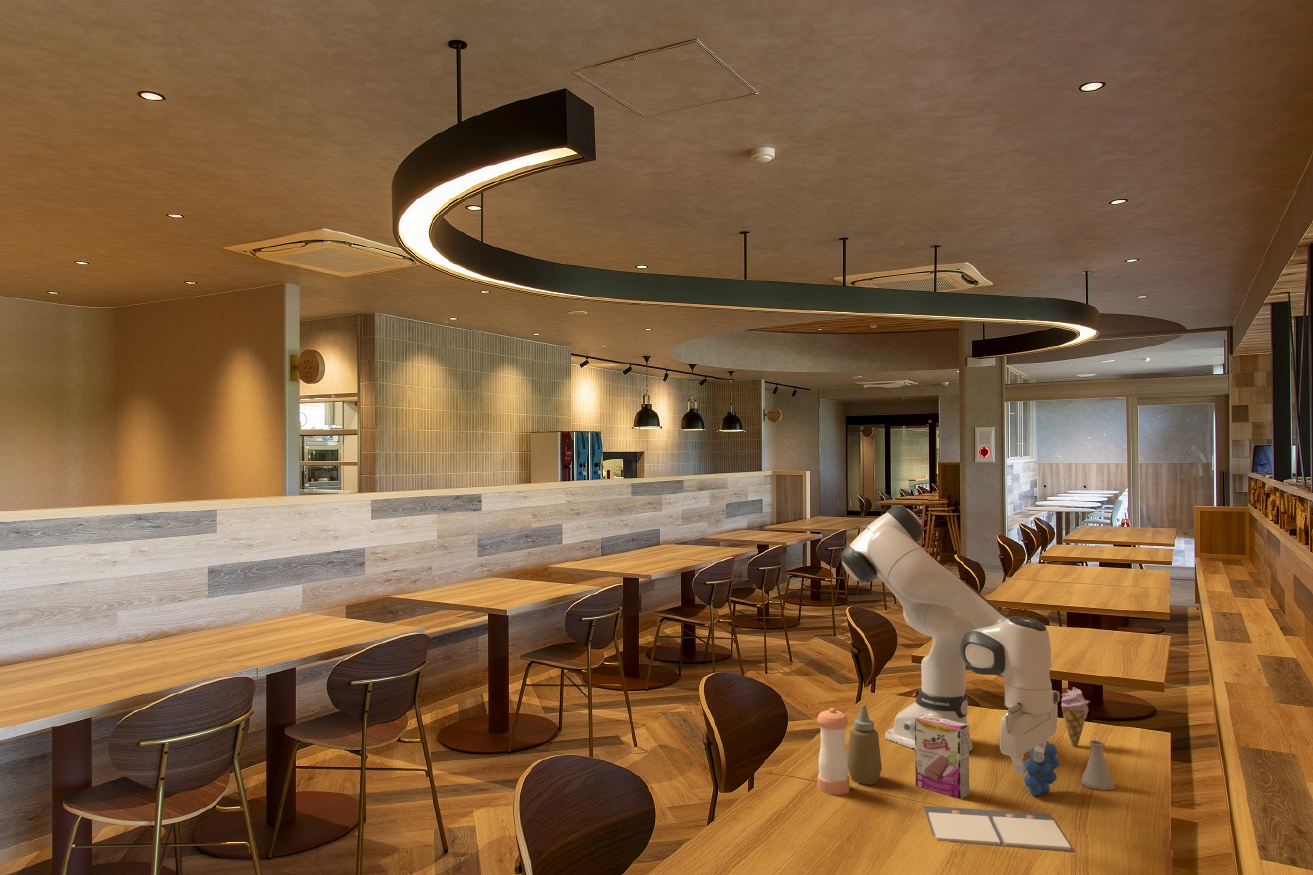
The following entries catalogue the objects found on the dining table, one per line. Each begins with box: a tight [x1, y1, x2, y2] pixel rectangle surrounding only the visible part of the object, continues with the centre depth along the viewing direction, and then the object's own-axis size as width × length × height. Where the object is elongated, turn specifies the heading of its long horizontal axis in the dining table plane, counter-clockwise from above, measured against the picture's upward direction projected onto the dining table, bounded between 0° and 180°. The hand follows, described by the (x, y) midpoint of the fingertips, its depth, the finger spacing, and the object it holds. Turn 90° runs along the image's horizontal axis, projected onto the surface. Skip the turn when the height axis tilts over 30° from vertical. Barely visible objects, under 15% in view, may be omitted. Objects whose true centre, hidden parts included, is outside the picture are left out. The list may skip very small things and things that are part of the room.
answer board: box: [923, 805, 1075, 853], centre depth 174 cm, size 26×17×1 cm, turn 80°
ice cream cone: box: [1060, 687, 1091, 747], centre depth 223 cm, size 7×6×15 cm
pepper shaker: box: [816, 707, 850, 796], centre depth 195 cm, size 7×7×19 cm
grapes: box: [1023, 740, 1061, 797], centre depth 193 cm, size 12×7×12 cm, turn 123°
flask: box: [1080, 739, 1115, 791], centre depth 197 cm, size 7×7×10 cm
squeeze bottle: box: [847, 704, 883, 785], centre depth 200 cm, size 8×8×18 cm
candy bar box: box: [914, 714, 971, 800], centre depth 194 cm, size 11×5×16 cm, turn 45°
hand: (1029, 767), depth 171 cm, fingers open, 8 cm apart
